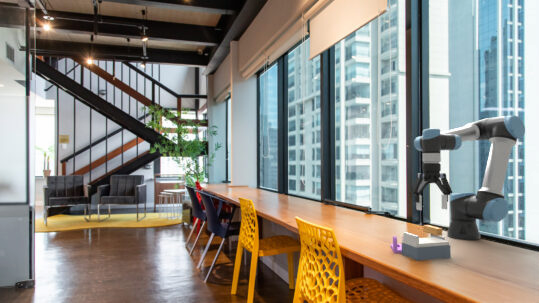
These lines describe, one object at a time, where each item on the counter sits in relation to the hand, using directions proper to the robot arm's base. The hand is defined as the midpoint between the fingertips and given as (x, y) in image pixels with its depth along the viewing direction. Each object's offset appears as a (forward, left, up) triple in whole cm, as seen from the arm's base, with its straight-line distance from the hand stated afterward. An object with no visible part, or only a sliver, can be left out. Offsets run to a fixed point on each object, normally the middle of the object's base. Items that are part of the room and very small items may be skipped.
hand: (431, 209), depth 159 cm
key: (0, +1, -17) cm, 17 cm away
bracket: (+15, -4, -18) cm, 24 cm away
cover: (+11, +9, -13) cm, 19 cm away
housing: (+8, +5, -18) cm, 20 cm away
